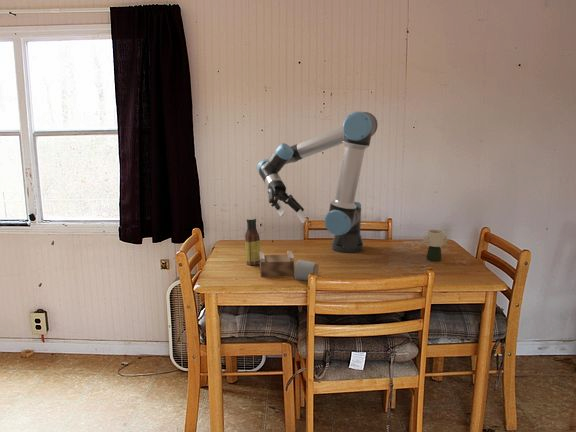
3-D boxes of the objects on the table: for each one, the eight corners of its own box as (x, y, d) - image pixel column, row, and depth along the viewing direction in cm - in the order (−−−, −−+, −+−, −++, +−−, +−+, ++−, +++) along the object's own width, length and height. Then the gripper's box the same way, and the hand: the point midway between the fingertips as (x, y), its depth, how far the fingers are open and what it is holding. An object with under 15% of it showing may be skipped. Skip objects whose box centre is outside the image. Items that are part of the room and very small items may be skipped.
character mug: (441, 257, 220) (443, 229, 217) (449, 261, 213) (451, 232, 210) (418, 258, 218) (420, 229, 215) (425, 262, 211) (427, 233, 209)
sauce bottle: (262, 262, 211) (262, 217, 207) (257, 266, 205) (256, 220, 201) (248, 260, 213) (248, 216, 209) (243, 264, 207) (242, 219, 203)
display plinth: (290, 268, 203) (291, 250, 201) (293, 275, 193) (293, 257, 192) (259, 269, 201) (259, 251, 200) (261, 276, 192) (260, 258, 190)
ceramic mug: (314, 284, 184) (315, 264, 183) (293, 281, 186) (294, 262, 185) (320, 275, 194) (321, 257, 193) (300, 273, 196) (301, 255, 195)
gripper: (289, 198, 231) (307, 230, 218) (250, 184, 214) (267, 217, 201) (299, 187, 228) (318, 218, 215) (260, 172, 211) (278, 205, 198)
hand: (294, 218), depth 208 cm, fingers open, 13 cm apart
